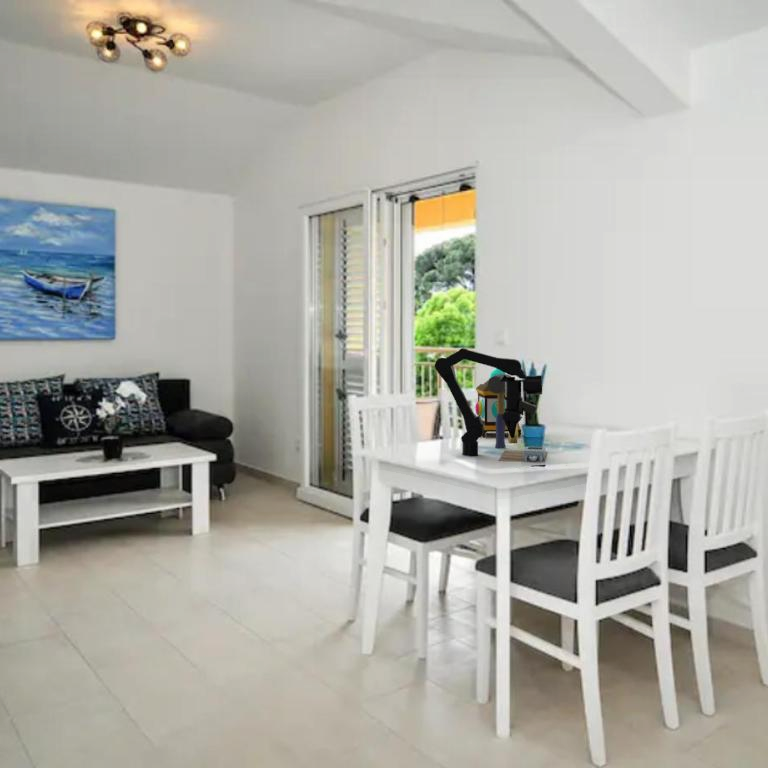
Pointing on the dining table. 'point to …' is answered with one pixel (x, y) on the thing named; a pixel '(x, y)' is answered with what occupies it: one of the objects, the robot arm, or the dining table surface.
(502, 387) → the rubber mallet
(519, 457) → the board
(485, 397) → the decorative lantern
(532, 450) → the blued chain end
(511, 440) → the pin
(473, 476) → the dining table surface
